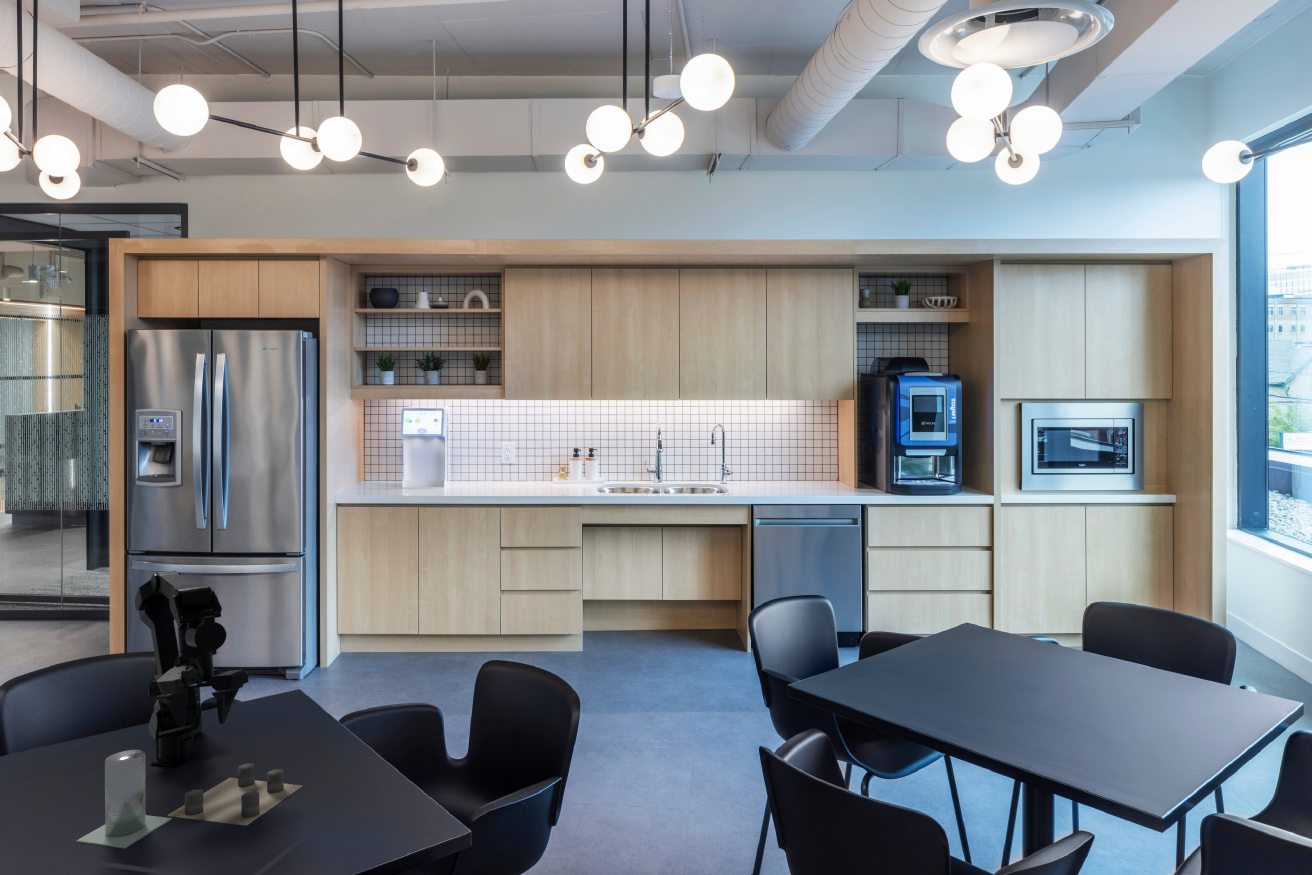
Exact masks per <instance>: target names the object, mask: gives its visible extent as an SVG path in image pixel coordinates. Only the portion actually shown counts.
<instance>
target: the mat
mask: <svg viewBox="0 0 1312 875" xmlns="http://www.w3.org/2000/svg"><path fill="white" fill-rule="evenodd" d="M255 766H256V765H255V763H250V762H249V763H244V764H241V765H239V766H238V767H237V778H236V777H228V778H227V779H225V780H223V781H221V782H219V783H218V784H217V785H215V786H213V787H211V788H210V789H209V790H207V791H205V792H204V790H203V789H192V790H190V791H187V792H186V793H185V794H184V805H182V806H180V807H179V808H176V809H175V810H174V811H172V812H171V813H168V814H167V815H166V816H167V817H171V818H172V817H173V818H182V819H189V820H198V821H205V822H206V821H207V822H215V823H222V824H231V825H238V826H248V825H250V824H251V823H253V822H254V821H255V820H257V819H258V818H259V817H261V816H262V815H264V814H265V813H267V812H269V811H270V810H271V809H272V808H274V807H275V806H277V805H278V804H280V803H281V802H282V801H284V800H285V799H286V798H288V797H290V796H291V795H293V793H296V792H297V791H299V790H300V789H301V788H302V787H303V785H300V784H291V783H285V780H284V779H285V777H284V776H285V771H284V769H282V768H281V769H280V768H279V769H278V768H276V769H272V770H269V771H268V772H267V773H266V781H265V780H263V781H262V780H256V771H255V770H256V769H255Z"/></svg>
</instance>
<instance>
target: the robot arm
mask: <svg viewBox="0 0 1312 875" xmlns="http://www.w3.org/2000/svg"><path fill="white" fill-rule="evenodd" d="M134 606H135V610H136V612H138V614H139V619H140V622H142V623H143V624H145V625H146V626H147V628H149V629H150V633H151V639H152V640H151V641H152V647H153V651H154V659H155V666H157V672H158V680H155V679H154V680H153V681H151V682H150V684H149V685H148V688H147V690H148V697H154V699H155V700H156V701H155V703H154V705H153V710H154V711H152V715H151V717H150V720H149V722H148V732H149V735H150V736H151V737H152V738H153V740H155V742H156V743H155V745H156V746H155V747H156V749H155V750H156V758H155V759H153V760H151V761H150V765H154V766H155V765H156V766H164V767H177V766H179V765H181V764H183V763H186V762H187V761H188V760H191V759H192V758H195V757H196V756H198V752H196V751H194V736H193V737H192V730H195V729H199V725H200V718H201V713H202V711H203V707H202V706H201V707H200V704H199V702H198V701H196V696H195V690H194V689H193V688H196V687H200V688H205V687H206V688H207V687H211V688H212V689H213V690H214V692H211V695H212V696H213V697H214V699H216V709H217V710H216V711H217V717H218V723H219V725H223V724H225V723H226V720H227V718H228V715H229V712H230V710H231V708H232V705H233V703H234V699H235V698H236V696H237V695H238V691H239V690H240V689H241V688H244V685H245V684H247V683H249V674H248V672H247V671H246V670H245V669H234V670H227V671H224V672H222V673H219V669H218V668H216V669H215V668H214V659H213V656H215V655H217V653H218V652H217V650H218V649H220V648H221V647H222V646H223V645H224V644H225V642H226V640H227V634H228V633H227V631H226V628H225V627H224V626H223V624H221V623H219V622H216V619H217V618H221V617H222V611H223V608H222V605H221V602H220V600H219V598H218V596H217V594H216V592H215V591H214V589H212V587H211V586H210V585H209V584H204V583H202V584H201V583H199V584H197V583H195V584H194V583H192V582H190V581H189V580H187V579H186V578H185V577H183V576H182V575H181V572H180V571H179V570H178V571H177V570H169V571H159V572H156V573H153V574H151V578H150V579H149V580H148V581H146V582H145V583H143V584H142V585H140V586H139V587H138V588H137V593H136V595H135V598H134ZM175 623H176V624H177V631H176V626H175ZM176 632H177V633H176ZM177 636H178V637H177ZM159 728H160V729H159Z"/></svg>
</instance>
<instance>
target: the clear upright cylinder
mask: <svg viewBox="0 0 1312 875" xmlns="http://www.w3.org/2000/svg"><path fill="white" fill-rule="evenodd" d="M104 804H105V805H104V811H105V812H104V816H105V818H104V822H105V823H104V825H105V835H106V836H108V837H114V838H115V837H124V836H128V835H131V834H134V833H136V832H138V831H140V830H141V829H143V828H144V827H145V824H146V815H147V814H146V812H147V811H146V752H145V751H144V750H140V749H129V750H123V751H120V752H119V751H118V752H116V753H114V754H111V755H109V756H107V757H106V758H105V760H104Z"/></svg>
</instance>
